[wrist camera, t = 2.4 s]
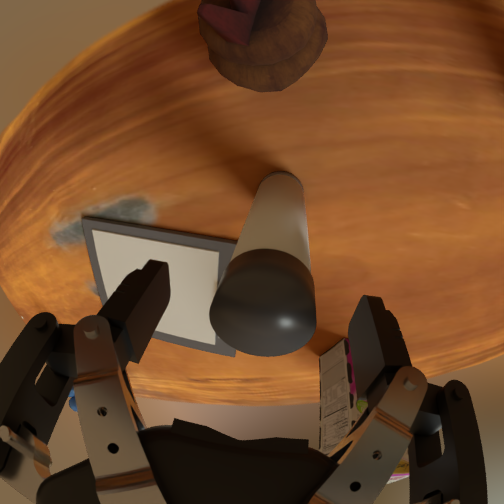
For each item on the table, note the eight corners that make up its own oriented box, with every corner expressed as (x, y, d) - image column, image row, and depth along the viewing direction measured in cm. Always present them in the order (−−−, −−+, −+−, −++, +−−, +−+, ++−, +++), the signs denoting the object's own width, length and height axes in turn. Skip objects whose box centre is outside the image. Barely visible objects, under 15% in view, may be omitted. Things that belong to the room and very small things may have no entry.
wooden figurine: (276, 108, 18) (237, 117, 5) (214, 66, 16) (71, 24, 4) (333, 46, 14) (414, -50, 2) (270, 4, 13) (224, -125, 1)
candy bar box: (401, 361, 30) (421, 472, 16) (374, 379, 33) (385, 485, 19) (344, 334, 28) (355, 475, 14) (316, 356, 31) (314, 485, 17)
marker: (260, 166, 20) (209, 271, 8) (308, 174, 20) (329, 292, 8) (254, 210, 22) (208, 346, 10) (300, 218, 22) (301, 362, 10)
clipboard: (85, 216, 25) (76, 223, 24) (249, 243, 24) (246, 252, 23) (110, 321, 33) (105, 328, 32) (235, 353, 32) (233, 363, 31)
